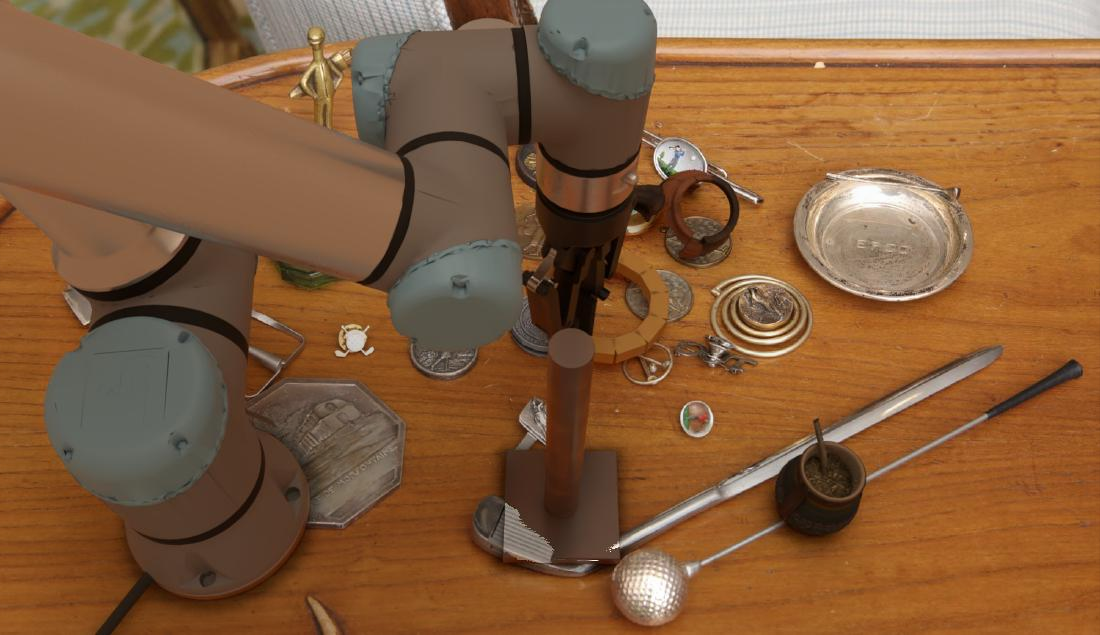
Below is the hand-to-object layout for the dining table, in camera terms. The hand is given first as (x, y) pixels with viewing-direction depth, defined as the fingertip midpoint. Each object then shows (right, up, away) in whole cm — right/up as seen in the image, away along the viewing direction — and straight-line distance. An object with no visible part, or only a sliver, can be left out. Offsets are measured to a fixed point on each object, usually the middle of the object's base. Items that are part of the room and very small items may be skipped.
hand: (570, 341), depth 89 cm
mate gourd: (+21, -15, -6) cm, 26 cm away
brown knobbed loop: (+12, +12, +10) cm, 20 cm away
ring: (+3, +3, +3) cm, 5 cm away
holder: (-1, -15, -7) cm, 16 cm away
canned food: (-9, +26, +19) cm, 33 cm away
